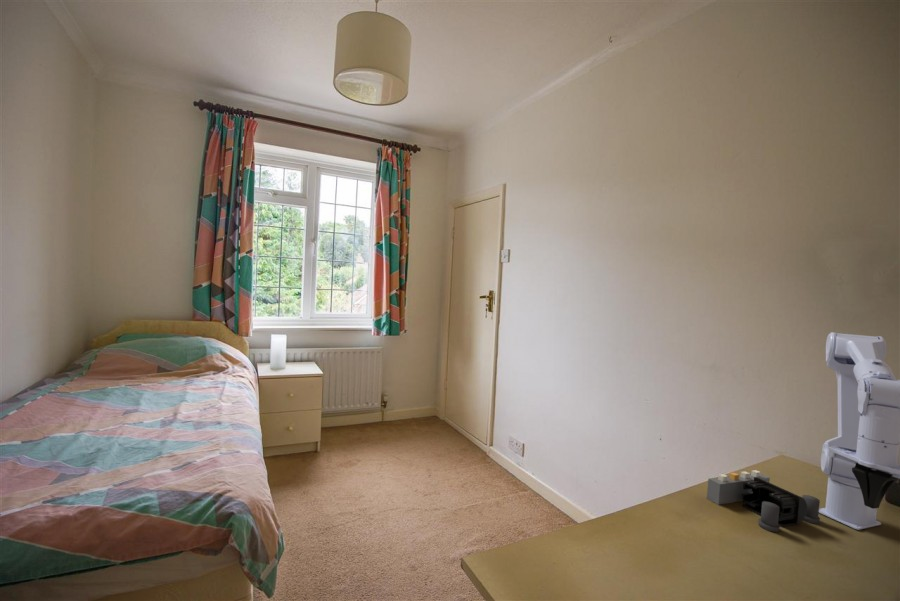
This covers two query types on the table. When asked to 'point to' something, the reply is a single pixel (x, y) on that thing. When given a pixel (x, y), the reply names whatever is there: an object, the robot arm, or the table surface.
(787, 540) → the table surface
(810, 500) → the dark grey cylinder
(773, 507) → the gray rounded knob
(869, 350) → the robot arm
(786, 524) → the end cap
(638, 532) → the table surface
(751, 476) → the breaker strip
